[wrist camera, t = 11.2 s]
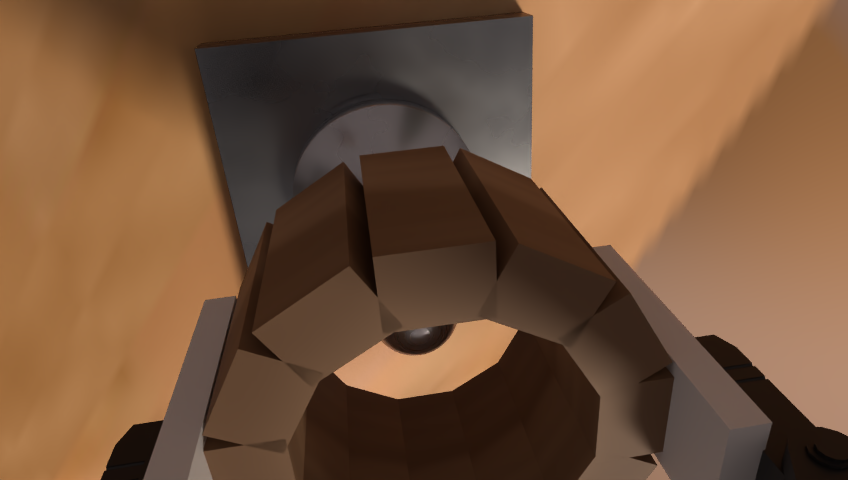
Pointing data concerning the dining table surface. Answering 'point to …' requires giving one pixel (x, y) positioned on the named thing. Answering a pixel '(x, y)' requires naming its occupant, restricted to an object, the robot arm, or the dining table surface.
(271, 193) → the post
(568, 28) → the dining table surface
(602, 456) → the ring
